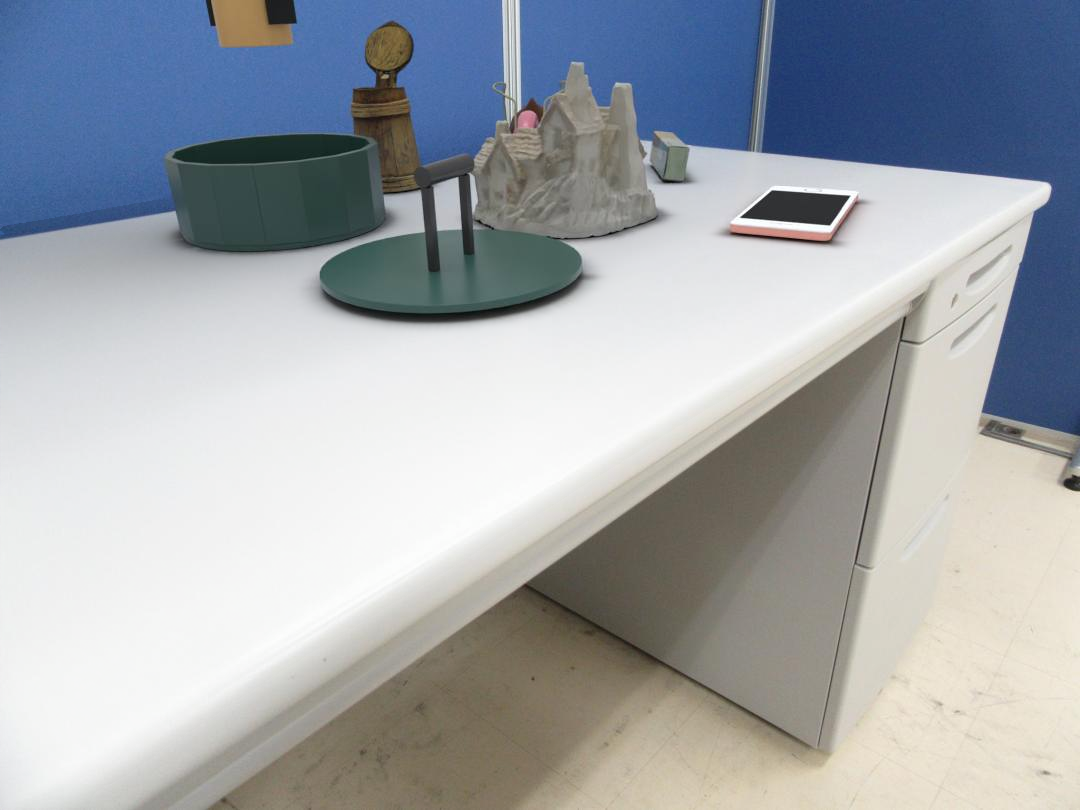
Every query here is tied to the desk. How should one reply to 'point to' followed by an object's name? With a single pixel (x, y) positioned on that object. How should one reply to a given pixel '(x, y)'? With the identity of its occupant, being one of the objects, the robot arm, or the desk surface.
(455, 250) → the lid
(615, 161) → the ceramic cottage
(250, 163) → the pot
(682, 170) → the medication box
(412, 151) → the wooden mug
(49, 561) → the desk surface
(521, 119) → the anatomy model
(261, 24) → the tan canister with cap
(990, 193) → the desk surface
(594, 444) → the desk surface
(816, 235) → the cell phone
